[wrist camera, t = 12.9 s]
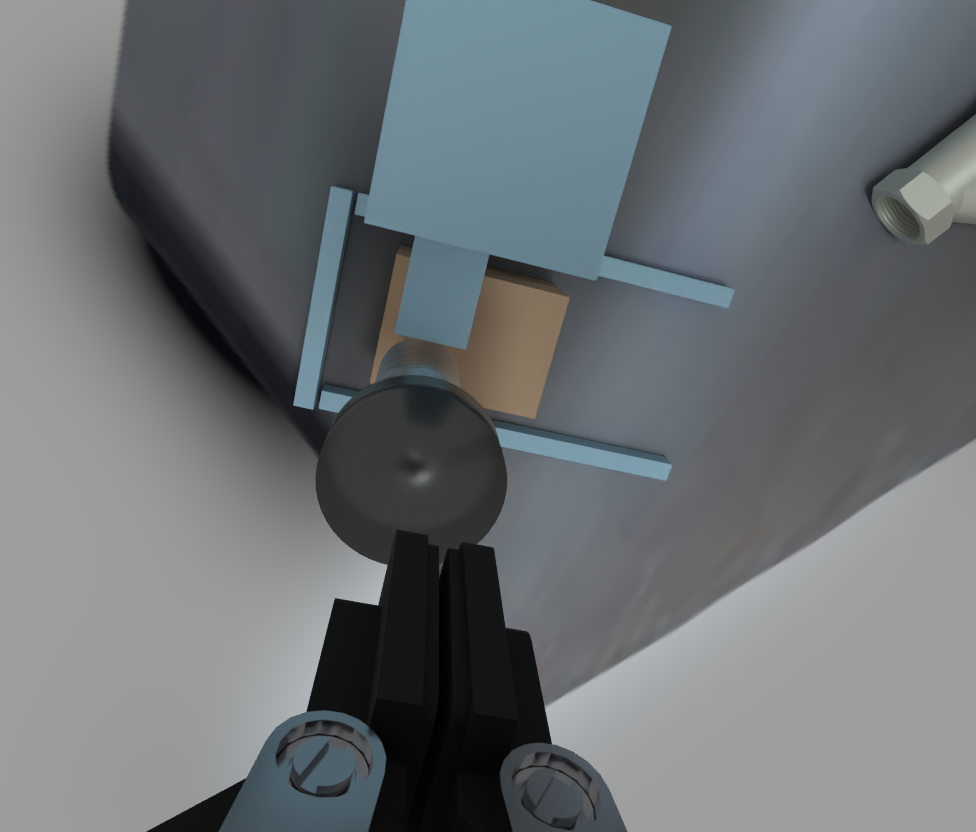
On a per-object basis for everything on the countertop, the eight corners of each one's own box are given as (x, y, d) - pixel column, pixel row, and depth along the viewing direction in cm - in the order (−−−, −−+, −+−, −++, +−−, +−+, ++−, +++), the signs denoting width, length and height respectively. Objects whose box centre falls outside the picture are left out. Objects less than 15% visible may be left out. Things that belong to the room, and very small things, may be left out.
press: (756, 200, 35) (1340, 238, 13) (659, 472, 40) (961, 857, 17) (352, 86, 32) (166, -134, 9) (298, 396, 37) (86, 746, 14)
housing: (551, 282, 36) (575, 301, 30) (521, 389, 38) (538, 427, 32) (400, 244, 35) (395, 257, 29) (377, 356, 37) (367, 390, 31)
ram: (493, 331, 25) (528, 416, 16) (464, 445, 27) (481, 581, 18) (369, 302, 25) (334, 374, 16) (346, 421, 26) (301, 549, 17)
